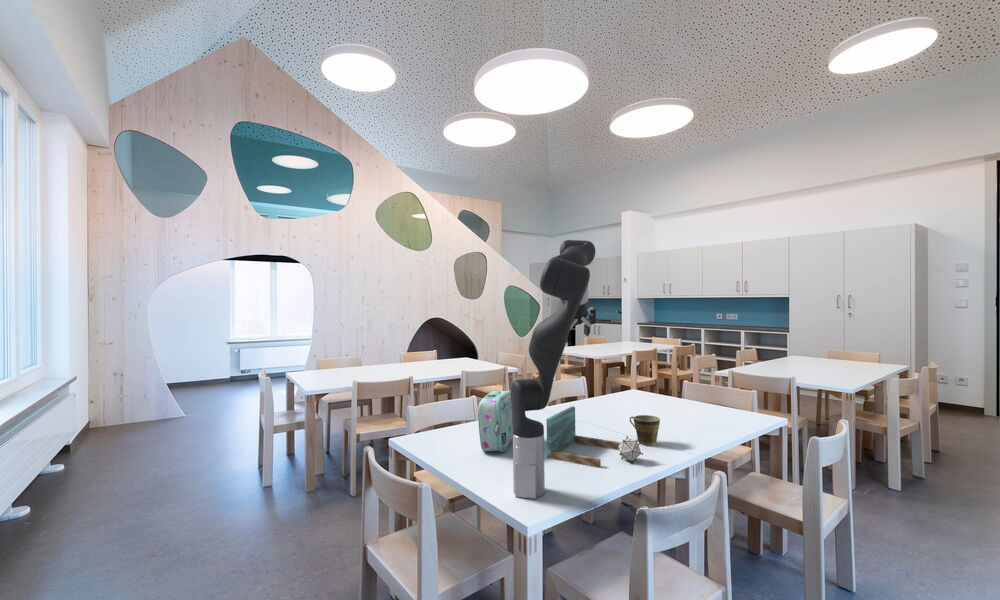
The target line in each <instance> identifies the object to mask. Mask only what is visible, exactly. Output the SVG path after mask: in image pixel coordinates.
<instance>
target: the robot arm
mask: <svg viewBox="0 0 1000 600" xmlns="http://www.w3.org/2000/svg"><path fill="white" fill-rule="evenodd" d="M595 257H596V247H595V244H594V243H593V242H592V241H590V240H581V239H580V240H579V239H578V240H577V239H566V240H564V241H563V242H562V243H561V245H560V247H559V255H556V256H554V257H551V258H550V259H549V260H548V261H547V262H546V264H545V265H544V268H543V269H542V273H541V277H540V280H539V287H540V290H541V292H543V293H544V294H546V295H549V296H551V297H554V298H557V299H561V300H563V301H564V304H563V305H562V306H561V308H560V309H559V310H557V311H556V312H555V313H553V314H552V315H550V316H548V317H546V318H545V319H543V320H542V321H540V322H539V323H538V324H537V325H536V326H535V327H534V329H533V331H532V334H531V338H530V340H529V345H528V353H529V357H530V360H531V361H532V363H533V365H534V366H535V367H536V369H537V371H538V376H537V377H535V378H528V379H527V378H523V379H515V380H513V381H512V383H511V385H510V391H511V407H512V426H513V438H512V465H513V467H512V471H513V472H512V474H513V477H512V478H513V479H512V480H513V493H514V494H515V495H514V496H515V497H516V498H523V499H524V498H525V499H533V500H537V499H538V498H540V497H542V496H543V495H545V492H546V490H545V487H546V485H545V484H546V483H545V481H546V479H545V478H546V477H545V427H544V426H545V425H544V424H543V423H542V422H541V421H539V420H535V419H531V418H529V417H527V414H526V412H530V411H532V412H533V411H541V410H544V409H545V408H546V407H547V406H548V404H549V401H550V398H551V392H552V388H553V384H554V380H555V375H556V372H557V369H558V366H559V363H560V361H561V358H562V356H563V353H564V351H565V347H566V345H567V343H568V337H569V334H570V331H571V330H572V329H573V327H576V326H578V325H582V324H583V334H584V335H585V336H586V337H589V336H590V333H591V327H592V325H596V323H597V309H595V307H593V306H590V305H589V282H590V278H591V271H590V269H589V268H588V267H587V266H589V265H590V264H592V263H593V261H594V259H595ZM587 316H588V319H587Z"/></svg>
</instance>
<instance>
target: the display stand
mask: <svg viewBox="0 0 1000 600" xmlns="http://www.w3.org/2000/svg"><path fill="white" fill-rule="evenodd" d="M574 443H575V444H580V443H581V445H586V444H587V446H592V445H594V447H598V446H600V448H605V449H611V448H612V449H613V450H617V449H619V448H618V446H616V445H619V444H620V443H621V442H620V441H615V440H609V439H602V438H594V437H588V436H582V435H576V406H570V407H568V408H565V409H564V410H561V411H560V412H558V413H556V414H553V415H552V416H550V417H547V418H546V458H547V459H550V460H551V459H552V460H557V461H562V462H569V463H573V464H578V465H584V466H588V465H589V467H595V468H601V466H602V465H601V464H602V463H601V462H602V461H601V459H602V458H598V457H593V456H592V457H591V456H588V455H587V456H586V455H581V454H577V453H570V452H564V450H566V449H567V448H569V447H570V446H572V445H573V444H574ZM565 448H566V449H565ZM562 450H563V451H562Z"/></svg>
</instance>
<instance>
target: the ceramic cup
mask: <svg viewBox="0 0 1000 600" xmlns="http://www.w3.org/2000/svg"><path fill="white" fill-rule="evenodd" d="M632 419H633V422H632ZM660 421H661V419H660V417H657V416H654V415H650V414H649V415H647V414H644V415H642V414H641V415H635V416H630V417H629V423H630V424H631V425H632V426H633V428H634V429H635V432H636V436H637V440H638V441H637V443H638V442H639V443H638V444H639V445H640V444H642V445H641V446H644V445H645V446H644V447H653V445H654V446H656V445H657V440H658V433H659V430H660V429H659V428H660V423H661V422H660Z"/></svg>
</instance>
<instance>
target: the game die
mask: <svg viewBox="0 0 1000 600" xmlns="http://www.w3.org/2000/svg"><path fill="white" fill-rule="evenodd" d="M616 446H618V448H619V456H621V458H620V460H623V459H625V460H627V461H629V462H630V463H631V464H633V463H634V462H633V461H634V460H637V458H638V457H639V456H640V455H644V453H643V452H641V451H642V450H641V449H640V444H639V443H638V439H636V440H634V439H632V438H629V436H628V435H626V438H624V439H622V442H620V444H619V445H616Z"/></svg>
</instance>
